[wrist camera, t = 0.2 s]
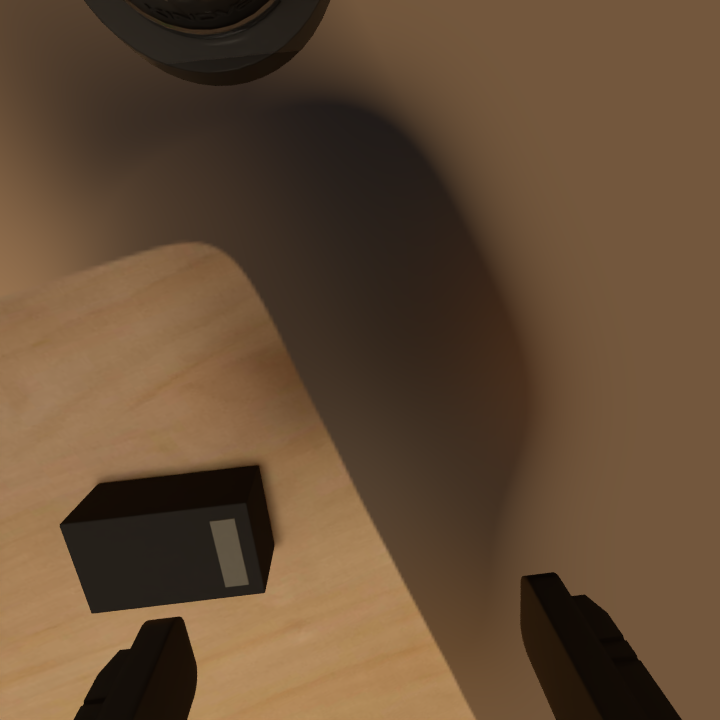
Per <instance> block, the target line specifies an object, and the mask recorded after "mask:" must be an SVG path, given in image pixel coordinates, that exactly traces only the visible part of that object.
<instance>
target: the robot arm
mask: <svg viewBox="0 0 720 720" xmlns="http://www.w3.org/2000/svg"><path fill="white" fill-rule="evenodd" d="M123 1H124V2H125V3H126V4H127V5H128V6H129V7H130V8H131V9H133V10H134V11H135V12H136V13H138V14H139V15H140V16H141V17H143V18H144V19H146V20H148V21H149V22H151V23H152V24H154V25H156V26H158V27H160V28H162V29H164V30H166V31H169V32H171V33H174V34H177V35H181V36H184V37H190V38H197V39H217V38H223V37H228V36H231V35H235V34H238V33H240V32H243V31H245V30H247V29H249V28H251V27H252V26H254V25H256V24H257V23H259V22H260V21H261V20H263V19H264V18H265V17H266V16H268V15H269V14H270V13H271V12H272V11H273V10H274V9H275V8H276V7H277V5H278V4H279V3H280V2H281V0H123ZM520 619H521V620H520V621H521V622H520V624H521V633H522V638H523V642H524V646H525V649H526V652H527V655H528V657H529V659H530V662H531V664H532V666H533V669H534V670H535V673H536V675H537V678H538V680H539V682H540V684H541V687H542V689H543V691H544V694H545V696H546V698H547V700H548V703H549V705H550V707H551V709H552V712H553V714H554V716H555V718H556V720H682V719H681V718H680V717H679V715H678V714H677V712H676V711H675V709H674V708H673V706H672V705H671V704H670V702H669V701H668V699H667V698H666V696H665V695H664V694H663V692H662V691H661V689H660V688H659V686H658V685H657V683H656V682H655V681H654V679H653V678H652V676H651V675H650V674H649V672H648V671H647V669H646V668H645V666H644V665H643V663H642V662H641V661H640V660H638V658H637V655H636V654H635V652H634V650H633V649H632V648H631V646H630V645H629V643H628V642H627V641H625V640H624V638H623V635H622V633H621V632H620V630H619V629H618V628H617V626H616V625H615V623H614V622H613V621H612V619H611V618H610V616H609V615H608V613H607V612H606V611H604V610H603V609H602V608H601V607H599V606H598V605H597V604H596V603H594V602H593V601H592V600H591V599H590V598H588V597H587V596H586V595H578V596H571V595H570V593H569V592H568V590H567V589H566V587H565V585H564V584H563V582H562V581H561V579H560V578H559V576H558V575H557V574H556V573H554V572H552V573H545V574H536V575H528V576H522V578H521V614H520ZM196 685H197V665H196V661H195V657H194V654H193V650H192V647H191V643H190V640H189V637H188V633H187V630H186V626H185V623H184V620H183V618H182V617H172V618H164V619H156V620H148V621H146V622H145V623H144V624H143V625H142V627H141V629H140V631H139V633H138V635H137V637H136V639H135V641H134V643H133V645H132V647H131V649H125V650H120V651H119V652H118V653H117V654H116V655H115V656H114V657H113V658H112V659H111V660H110V662H109V663H108V664H107V665H106V666H105V667H104V668H103V669H102V670H101V672H100V673H99V674H98V676H97V677H96V679H95V681H94V683H93V685H92V687H91V688H90V690H89V692H88V694H87V696H86V698H85V700H84V705H83V706H81V707H80V709H79V711H78V713H77V714H76V716H75V718H74V720H187V718H188V715H189V712H190V709H191V705H192V702H193V699H194V695H195V691H196Z"/></svg>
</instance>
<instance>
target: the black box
mask: <svg viewBox="0 0 720 720" xmlns="http://www.w3.org/2000/svg"><path fill="white" fill-rule="evenodd" d="M60 528H61V531H62V534H63V536H64V539H65V542H66V545H67V547H68V550H69V553H70V555H71V558H72V561H73V564H74V566H75V569H76V572H77V575H78V577H79V580H80V583H81V585H82V588H83V591H84V594H85V596H86V599H87V602H88V605H89V607H90V610H91V613H101V612H110V611H118V610H126V609H135V608H143V607H151V606H160V605H168V604H176V603H185V602H193V601H201V600H209V599H218V598H226V597H234V596H243V595H251V594H259V593H265V590H266V585H267V580H268V575H269V570H270V565H271V560H272V555H273V551H274V541H273V536H272V531H271V526H270V521H269V516H268V511H267V506H266V500H265V495H264V490H263V485H262V480H261V475H260V470H259V466H251V467H242V468H234V469H225V470H216V471H208V472H199V473H190V474H182V475H173V476H165V477H156V478H147V479H139V480H130V481H122V482H113V483H104V484H98V485H97V486H96V487H95V488H94V489H93V490H92V491H91V492H90V493H89V494H88V495H87V496H86V497H85V498H84V499H83V500H82V501H81V503H80V504H79V505H78V506H77V507H76V508H75V509H74V510H73V511H72V512H71V513H70V514H69V515H68V516H67V517H66V518H65V520H64V521H63V522H62V523H61V524H60Z"/></svg>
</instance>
